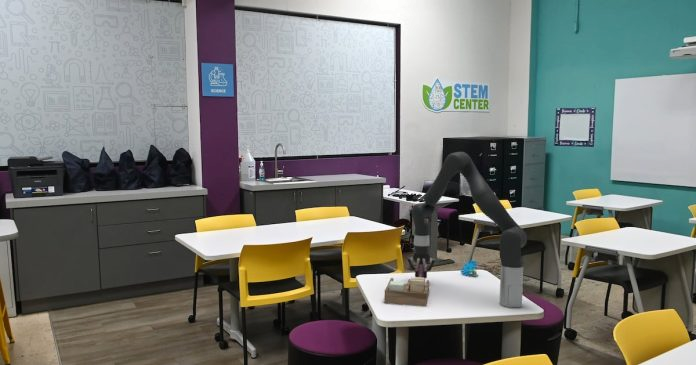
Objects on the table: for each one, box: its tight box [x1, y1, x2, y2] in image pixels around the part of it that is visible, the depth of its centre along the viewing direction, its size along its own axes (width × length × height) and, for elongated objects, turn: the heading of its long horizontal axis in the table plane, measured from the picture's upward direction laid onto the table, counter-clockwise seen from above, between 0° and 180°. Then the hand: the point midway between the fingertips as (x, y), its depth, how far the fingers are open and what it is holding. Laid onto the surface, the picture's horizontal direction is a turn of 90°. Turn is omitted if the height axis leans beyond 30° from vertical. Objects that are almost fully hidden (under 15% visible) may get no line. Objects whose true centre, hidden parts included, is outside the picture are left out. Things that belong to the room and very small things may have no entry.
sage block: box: [389, 280, 406, 291], centre depth 237 cm, size 6×6×5 cm
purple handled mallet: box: [410, 264, 426, 292], centre depth 254 cm, size 27×6×9 cm, turn 168°
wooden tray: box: [383, 277, 430, 307], centre depth 243 cm, size 22×18×6 cm
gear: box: [460, 259, 479, 277], centre depth 284 cm, size 11×6×10 cm
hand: (420, 278), depth 266 cm, fingers closed on purple handled mallet, 3 cm apart
